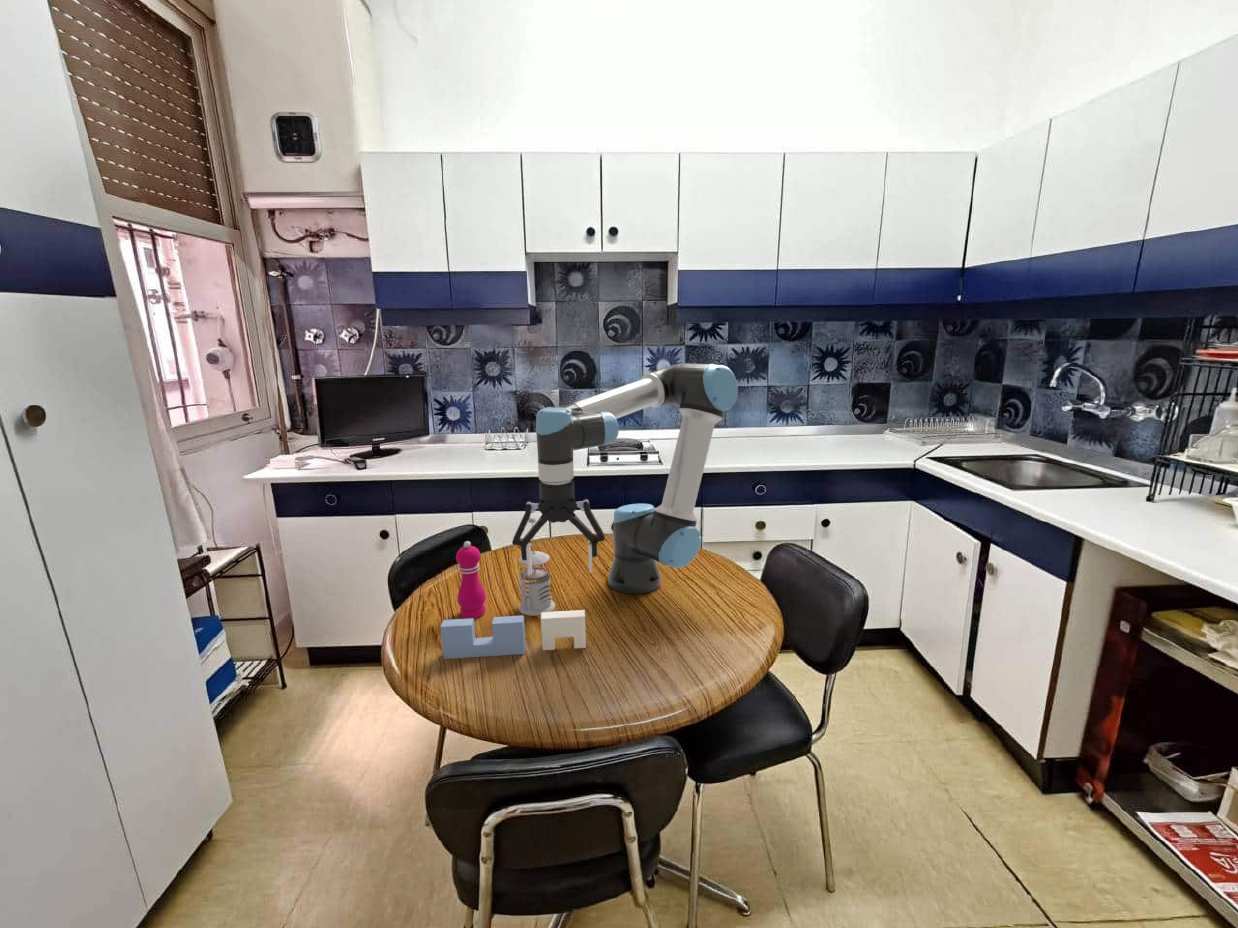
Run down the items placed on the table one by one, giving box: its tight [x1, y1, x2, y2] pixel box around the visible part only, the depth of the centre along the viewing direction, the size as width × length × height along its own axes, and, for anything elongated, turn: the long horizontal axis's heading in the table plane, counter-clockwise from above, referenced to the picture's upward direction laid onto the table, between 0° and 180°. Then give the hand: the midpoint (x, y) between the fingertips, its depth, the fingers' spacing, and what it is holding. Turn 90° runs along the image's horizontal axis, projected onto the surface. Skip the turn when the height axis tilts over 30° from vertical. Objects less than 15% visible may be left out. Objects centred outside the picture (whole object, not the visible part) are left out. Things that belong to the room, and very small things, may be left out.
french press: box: [517, 516, 556, 617], centre depth 142 cm, size 10×12×25 cm
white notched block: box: [540, 609, 587, 651], centre depth 126 cm, size 10×3×8 cm, turn 95°
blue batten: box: [440, 614, 527, 660], centre depth 123 cm, size 18×3×8 cm, turn 95°
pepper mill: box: [455, 540, 487, 619], centre depth 140 cm, size 7×7×20 cm
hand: (560, 571), depth 123 cm, fingers open, 13 cm apart
